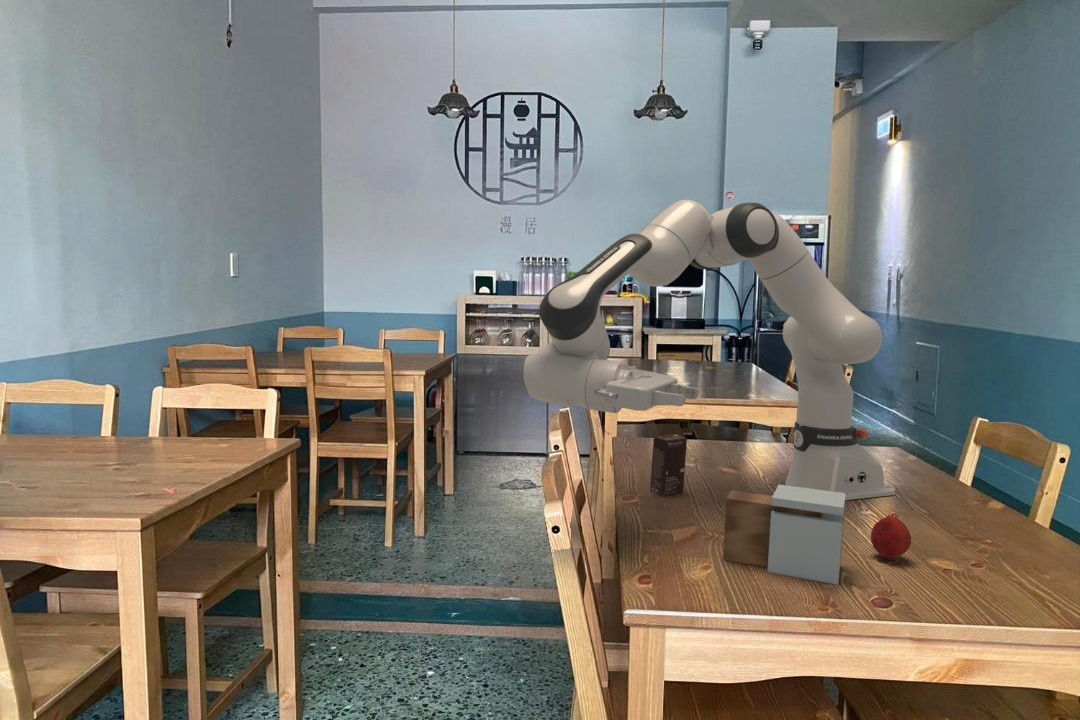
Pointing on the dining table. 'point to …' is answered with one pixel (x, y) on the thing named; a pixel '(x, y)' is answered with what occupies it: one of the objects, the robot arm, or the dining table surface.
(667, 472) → the box
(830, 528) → the grey slotted cube
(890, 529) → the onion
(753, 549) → the walnut block
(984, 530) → the dining table surface
